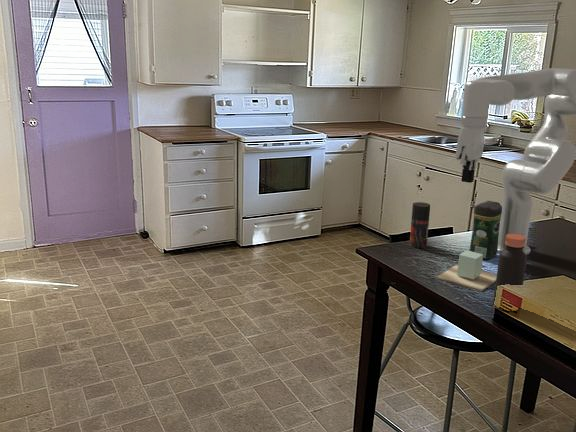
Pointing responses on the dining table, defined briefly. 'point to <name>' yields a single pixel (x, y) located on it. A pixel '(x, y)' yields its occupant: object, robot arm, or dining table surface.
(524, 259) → the bottle
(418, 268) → the dining table surface
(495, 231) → the coffee jar
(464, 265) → the pale green rectangular prism
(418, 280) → the dining table surface
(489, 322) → the dining table surface
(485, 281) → the post stand
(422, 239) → the deodorant
